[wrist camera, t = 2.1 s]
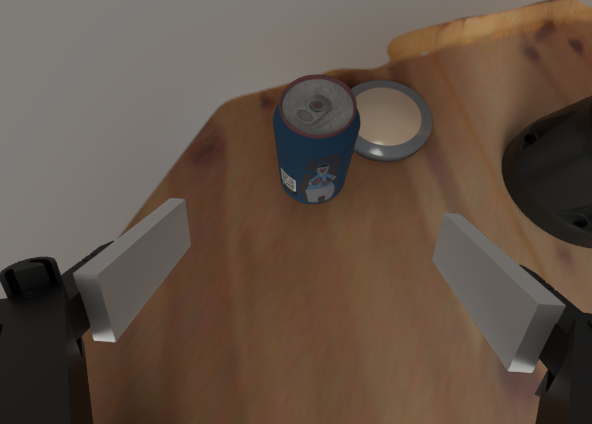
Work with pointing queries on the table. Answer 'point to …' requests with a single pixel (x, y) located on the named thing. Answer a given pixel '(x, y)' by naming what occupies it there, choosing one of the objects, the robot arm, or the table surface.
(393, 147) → the coaster
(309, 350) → the table surface
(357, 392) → the table surface
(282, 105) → the soda can
